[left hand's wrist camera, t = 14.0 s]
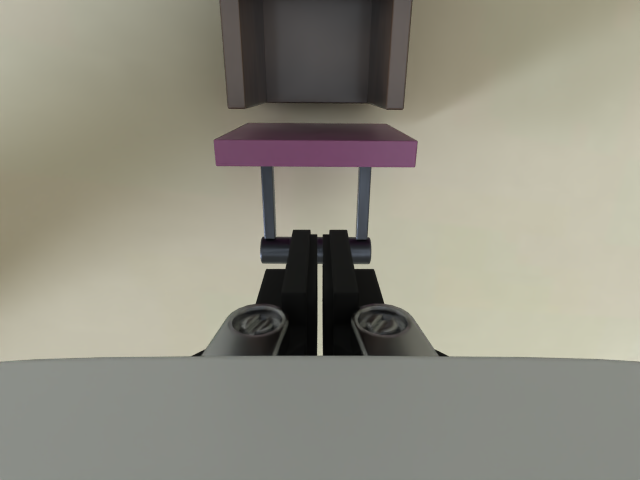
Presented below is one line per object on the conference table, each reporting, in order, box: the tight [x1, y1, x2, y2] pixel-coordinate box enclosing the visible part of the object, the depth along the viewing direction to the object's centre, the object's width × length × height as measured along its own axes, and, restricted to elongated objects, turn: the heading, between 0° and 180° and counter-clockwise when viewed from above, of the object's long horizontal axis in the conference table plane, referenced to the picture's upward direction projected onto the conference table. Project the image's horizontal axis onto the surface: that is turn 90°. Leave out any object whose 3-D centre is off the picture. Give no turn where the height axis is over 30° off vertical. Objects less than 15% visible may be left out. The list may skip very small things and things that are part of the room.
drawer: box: [214, 0, 418, 264], centre depth 20 cm, size 20×9×9 cm, turn 0°
